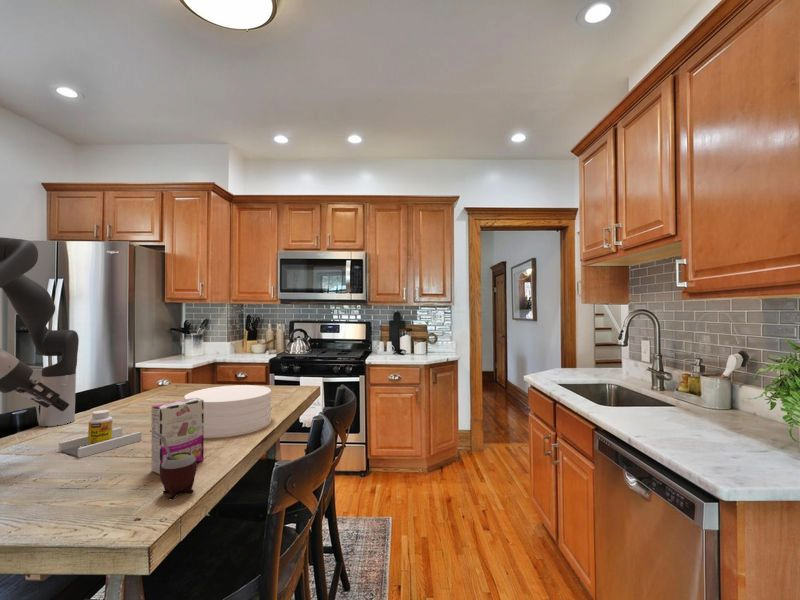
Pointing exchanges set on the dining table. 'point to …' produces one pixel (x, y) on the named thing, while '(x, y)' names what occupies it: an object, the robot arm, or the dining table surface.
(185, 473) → the mate gourd
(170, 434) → the candy bar box
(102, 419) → the supplement bottle
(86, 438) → the trap channel
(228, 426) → the plate stack
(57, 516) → the dining table surface
